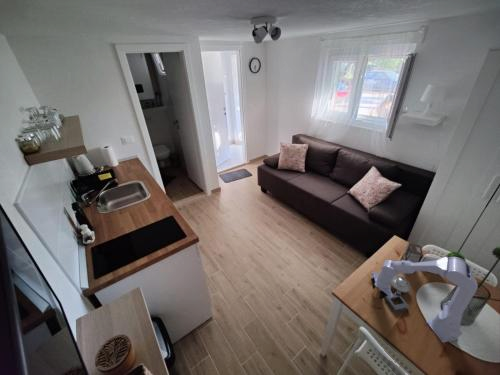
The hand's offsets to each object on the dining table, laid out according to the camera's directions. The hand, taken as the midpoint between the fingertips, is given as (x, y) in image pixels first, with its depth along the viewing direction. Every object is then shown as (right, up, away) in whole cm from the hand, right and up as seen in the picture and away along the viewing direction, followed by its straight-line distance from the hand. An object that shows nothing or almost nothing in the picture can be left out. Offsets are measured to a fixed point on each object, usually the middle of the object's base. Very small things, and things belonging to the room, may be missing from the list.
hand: (377, 293), depth 119 cm
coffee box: (+28, +9, +16) cm, 33 cm away
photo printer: (+39, +8, +13) cm, 42 cm away
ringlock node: (+12, -1, +1) cm, 12 cm away
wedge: (0, -2, +1) cm, 2 cm away
